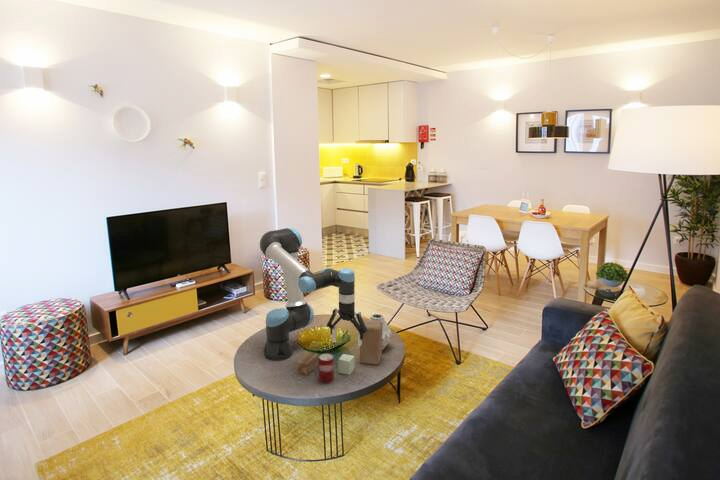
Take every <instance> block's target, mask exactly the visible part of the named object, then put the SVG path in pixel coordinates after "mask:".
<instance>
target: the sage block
mask: <svg viewBox="0 0 720 480" xmlns="http://www.w3.org/2000/svg"><path fill="white" fill-rule="evenodd" d="M337 364H338V365H337V366H338V367H337V368H338V369H337V372H338V373H340V374H345V375H351V374H352V373H353V371H355V356H354V355H349V354H345V353H343V354H342V355H341V356H340V357H339V358H338V359H337Z"/></svg>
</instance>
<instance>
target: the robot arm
mask: <svg viewBox="0 0 720 480" xmlns="http://www.w3.org/2000/svg"><path fill="white" fill-rule="evenodd" d="M302 244H303V239H302V236H301V233H300V232H299V231H298V230H297V229H296V228H293V227H286V228H282V229H281V228H280V229H277V230H276V229H275V230H269V231H266V232H265V233H264V234H263V235H262V236H261V238H260V240H259V249H260V252H261V253H262V254H263V255H264V256H265V257H266V258H267V259H268V260H272V261H274V262H275V263H276V265H278V266H280V268H281V269H282V272H283V281H284V284H285V285H284V286H285V292H286V293H285V294H286V299H287V302H286V304H285V308H284V307H281V308H275V309H272V310H270V311H268V312H267V314H266V316H265V329H266V330H265V332H266V334H265V335H266V342H265V345H264V348H263V357H264V358H266V359H267V360H270V361H282V360H286V359H289V358H291V357H292V355H293V354H294V348H293V346H292V343H291V340H290V333H292V332H294V331H297V330H300V329H303V328H306V327H308V326H310V325H311V324H312V323H313V321H314V317H315V316H314V315H315V314H314V309H313V308H312V306H311V305H310V304H308V301H307V300H305V297H304V294H307V293H312V292H316V291H319V290H321V289H325V288H328V287H331V286H332V287H336V288H338V308H334V309H333V310H332V314H331V316H330V318H329V320H328V322H327V323H326V327H327V328H329V329H330V335H331V340H332V341H331V343H334V342H335V341H336V340H337V327H335V326H337V324H338V323H339V322H341V320H342V321H348V322H350V323H352V324H353V326H354V327H355V329H356V330H357V332H358V333H357V343H358V344H357V347H359V348H360V346H361V345H362V339H363V333H366V332H367V328H366V326H365V324H364V319H363V317H362V313H361V311H359V312H355V308H356V307H355V303H356V302H355V299H356V296H355V292H356V291H355V285H356V284H355V282H356V281H355V280H356V278H355V276H356V275H355V270H354V269H351V268H340V269H339V270H336V269H333V268H330V267H329V268H328V267H325V268H323V269H321V270H320V272H317V273H314V272H312V271H310V270H309V269H308V268H307V267H306V266H305V265H303V264H302V263H301V262H300V261H299V259H298V254H300V250H299V249H300V248H301V247H302ZM337 314H338V315H339V317H338V318H337V319H336V320H335V321H334V319H335V317H336V316H337ZM333 321H334V322H333Z"/></svg>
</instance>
